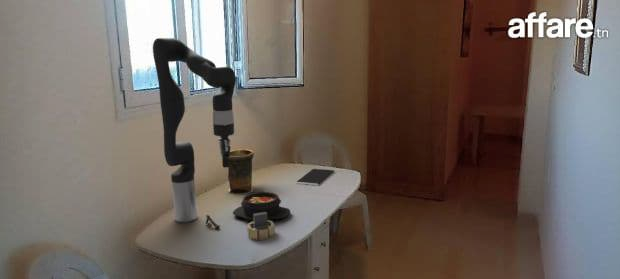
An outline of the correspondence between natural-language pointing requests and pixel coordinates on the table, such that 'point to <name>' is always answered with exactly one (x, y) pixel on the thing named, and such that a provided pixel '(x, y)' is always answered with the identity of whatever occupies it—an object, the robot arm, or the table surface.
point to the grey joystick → (260, 220)
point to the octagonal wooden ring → (261, 231)
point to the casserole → (261, 206)
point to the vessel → (240, 171)
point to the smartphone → (315, 177)
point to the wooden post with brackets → (211, 222)
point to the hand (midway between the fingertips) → (225, 166)
